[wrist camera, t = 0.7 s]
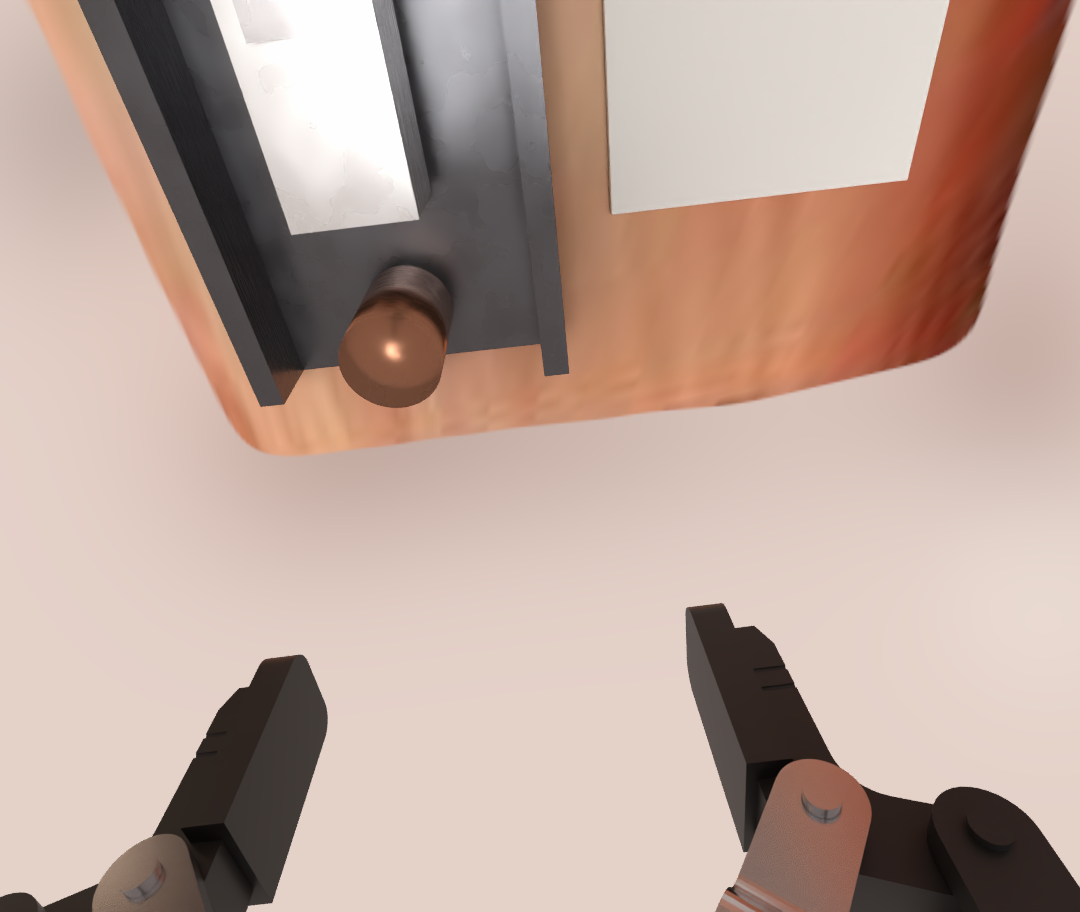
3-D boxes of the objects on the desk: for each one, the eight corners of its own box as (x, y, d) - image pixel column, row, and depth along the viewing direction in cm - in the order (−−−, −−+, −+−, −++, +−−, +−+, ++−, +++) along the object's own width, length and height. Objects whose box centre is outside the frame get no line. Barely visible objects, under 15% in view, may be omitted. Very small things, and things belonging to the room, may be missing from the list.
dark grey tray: (-4, -387, 19) (-243, -561, 13) (489, -470, 18) (475, -692, 12) (290, 359, 35) (242, 435, 29) (563, 328, 34) (572, 400, 28)
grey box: (235, -61, 22) (177, -72, 18) (375, -81, 21) (346, -96, 18) (318, 205, 27) (286, 240, 23) (431, 192, 27) (417, 224, 23)
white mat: (595, -195, 22) (596, -200, 21) (999, -255, 21) (1010, -261, 21) (610, 211, 30) (611, 214, 30) (900, 176, 30) (907, 179, 29)
